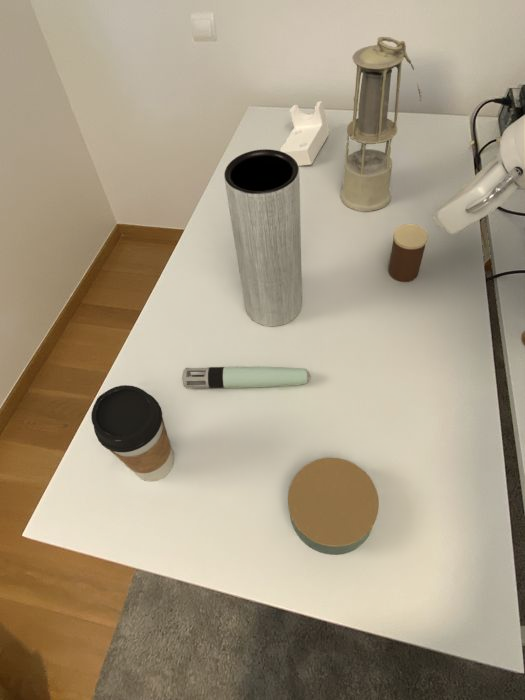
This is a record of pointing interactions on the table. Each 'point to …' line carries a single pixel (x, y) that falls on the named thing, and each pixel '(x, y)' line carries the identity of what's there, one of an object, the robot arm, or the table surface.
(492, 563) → the table surface
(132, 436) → the coffee cup
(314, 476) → the coffee tin
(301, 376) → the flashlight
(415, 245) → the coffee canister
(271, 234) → the vase
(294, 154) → the bracket
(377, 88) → the lamp
